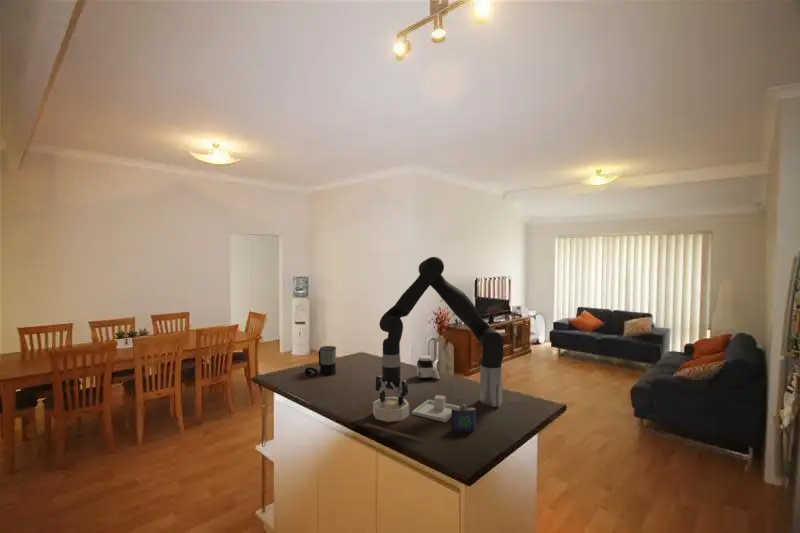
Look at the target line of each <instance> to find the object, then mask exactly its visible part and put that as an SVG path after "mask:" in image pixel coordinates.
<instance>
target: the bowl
mask: <svg viewBox="0 0 800 533" xmlns="http://www.w3.org/2000/svg"><path fill="white" fill-rule="evenodd" d="M398 397H399V396H397V397H396V396H388V397H386V396H385V401H384V402H381V400H380V398H378V399H376V400H375V401H373V402H372V413H373V414H372V415H373V416H374V418H375V420H379V421H383V422H387V423H390V422H391V423H392V422H398V421H399V422H401V421H404V420H405V419H406V418H408V417H409V416H410V403H409V402H408V401H407V399H405V398H404V402H403V404H402V405H401V406H399V405H398V409H389V410H388V409H385V403H386V402H387V401H389V400H391V401H396V402H398Z"/></svg>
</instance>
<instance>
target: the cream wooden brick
mask: <svg viewBox="0 0 800 533" xmlns="http://www.w3.org/2000/svg"><path fill="white" fill-rule="evenodd" d="M385 409H388V410H389V409H398V402H396V401H391V400H389V401H387V402H386V403H385Z"/></svg>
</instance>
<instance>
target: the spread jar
mask: <svg viewBox="0 0 800 533" xmlns="http://www.w3.org/2000/svg"><path fill="white" fill-rule="evenodd" d="M416 375H417V378H418V379H419V380H423V381H429V380H431V379H433V377H434V375H435V378H436V380H440V374H439V371H438V368H437V366H436V365H435V366H434V363H433V361H432V356H430V355H428V354H427V355H425V354H423V355H419V356H418V361H417V363H416Z"/></svg>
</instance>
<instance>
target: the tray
mask: <svg viewBox="0 0 800 533" xmlns="http://www.w3.org/2000/svg"><path fill="white" fill-rule="evenodd" d="M456 407H457V408H458V407H459V408H461V406H459V405H455V404H450V403H446V408H445V409H444V411H439V410H434V399H433V400H432V399H427V400H425V401H424V402H422V403H421V404H420V405H419V406H417V407H416V408H414V409H413V410H412V412H411V414H412V415H413V416H418V417H423V418H426V419H430V420H435V421H437V422H438V421H439V422H443V423H447V422H448V421H449V420H450V419H452V409H453V408H456Z"/></svg>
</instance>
